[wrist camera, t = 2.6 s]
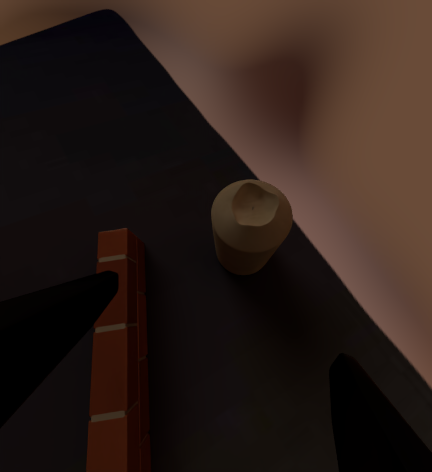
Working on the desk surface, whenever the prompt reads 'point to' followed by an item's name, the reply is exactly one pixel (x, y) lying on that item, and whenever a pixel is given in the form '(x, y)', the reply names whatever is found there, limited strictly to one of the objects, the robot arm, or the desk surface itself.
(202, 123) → the desk surface
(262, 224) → the candle
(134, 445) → the brick wall
